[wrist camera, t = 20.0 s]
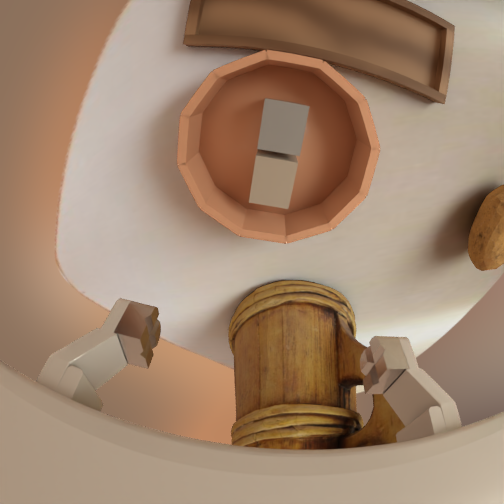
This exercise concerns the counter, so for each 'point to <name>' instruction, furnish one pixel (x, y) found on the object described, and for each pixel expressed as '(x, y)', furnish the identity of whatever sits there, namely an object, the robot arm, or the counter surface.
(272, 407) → the tankard
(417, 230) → the counter surface
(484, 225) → the potato
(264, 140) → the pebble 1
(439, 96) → the parts tray
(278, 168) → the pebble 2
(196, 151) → the bowl
